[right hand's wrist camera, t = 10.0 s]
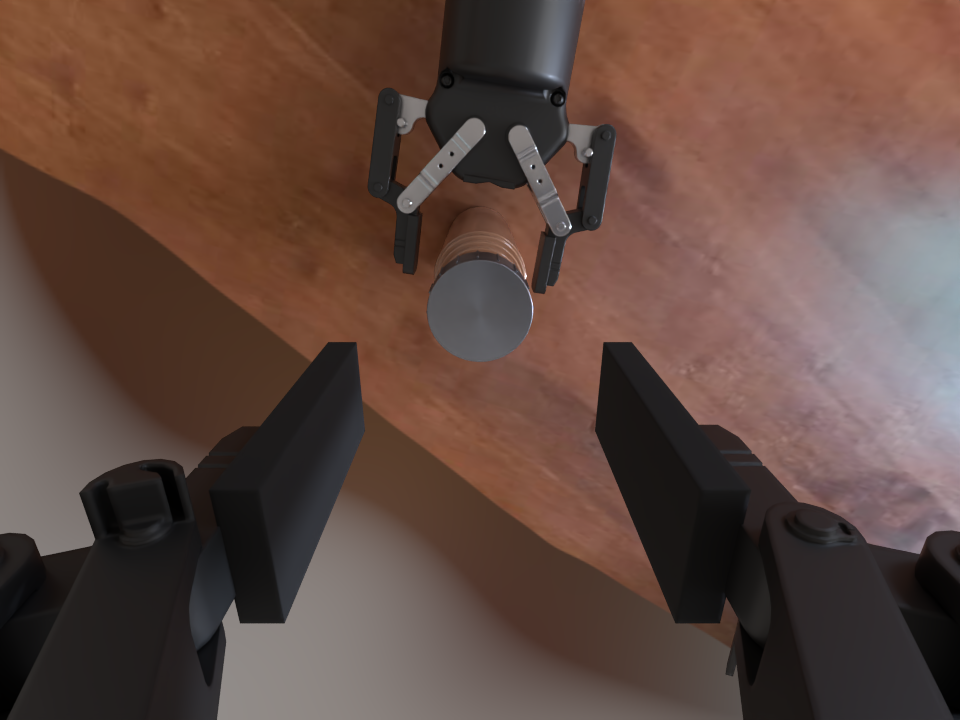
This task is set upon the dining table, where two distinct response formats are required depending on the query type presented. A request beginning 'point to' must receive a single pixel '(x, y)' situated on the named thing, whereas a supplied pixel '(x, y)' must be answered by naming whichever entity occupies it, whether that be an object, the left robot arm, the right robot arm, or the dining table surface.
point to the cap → (479, 307)
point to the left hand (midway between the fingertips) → (474, 281)
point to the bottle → (479, 238)
